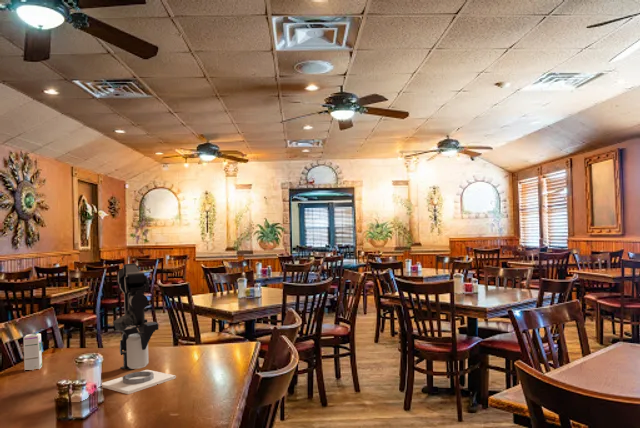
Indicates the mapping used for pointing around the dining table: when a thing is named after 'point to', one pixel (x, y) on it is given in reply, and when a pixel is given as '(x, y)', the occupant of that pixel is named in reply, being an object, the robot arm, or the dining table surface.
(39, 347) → the syrup box
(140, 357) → the can
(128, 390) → the platter
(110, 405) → the dining table surface
